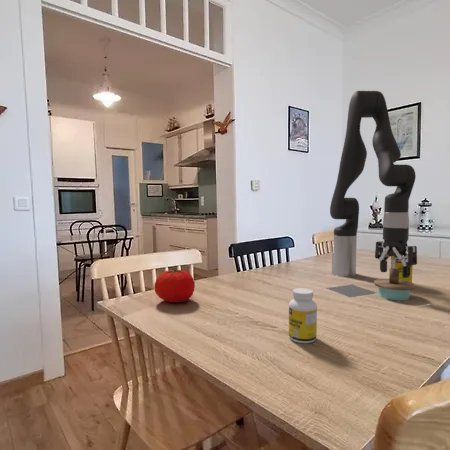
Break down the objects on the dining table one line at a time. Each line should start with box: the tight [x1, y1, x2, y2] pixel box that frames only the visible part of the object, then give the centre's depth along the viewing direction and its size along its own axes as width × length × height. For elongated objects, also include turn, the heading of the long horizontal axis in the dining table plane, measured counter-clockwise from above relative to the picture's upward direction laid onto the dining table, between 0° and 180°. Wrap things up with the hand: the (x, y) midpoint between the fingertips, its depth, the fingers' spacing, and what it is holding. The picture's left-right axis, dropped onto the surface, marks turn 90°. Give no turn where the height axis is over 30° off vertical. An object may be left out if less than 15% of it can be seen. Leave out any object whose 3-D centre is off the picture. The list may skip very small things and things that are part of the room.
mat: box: [325, 284, 377, 298], centre depth 117 cm, size 12×12×1 cm
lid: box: [373, 267, 416, 291], centre depth 110 cm, size 12×12×5 cm
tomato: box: [154, 268, 196, 303], centre depth 108 cm, size 13×12×11 cm
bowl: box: [377, 287, 411, 301], centre depth 110 cm, size 9×9×4 cm
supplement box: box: [390, 256, 414, 283], centre depth 123 cm, size 6×6×11 cm
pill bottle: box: [288, 287, 318, 344], centre depth 78 cm, size 6×6×12 cm
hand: (394, 274), depth 109 cm, fingers open, 8 cm apart
